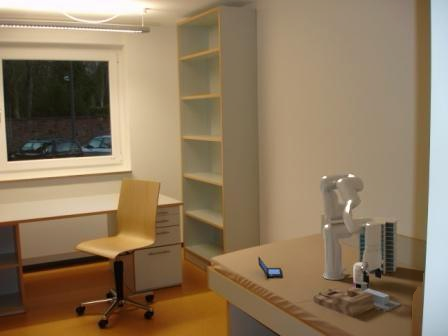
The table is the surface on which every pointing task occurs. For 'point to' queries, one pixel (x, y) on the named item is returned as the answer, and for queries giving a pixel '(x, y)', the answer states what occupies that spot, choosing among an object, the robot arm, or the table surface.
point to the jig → (346, 301)
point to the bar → (379, 297)
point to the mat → (387, 305)
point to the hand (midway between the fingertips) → (372, 279)
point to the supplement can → (359, 277)
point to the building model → (384, 243)
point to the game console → (270, 270)
